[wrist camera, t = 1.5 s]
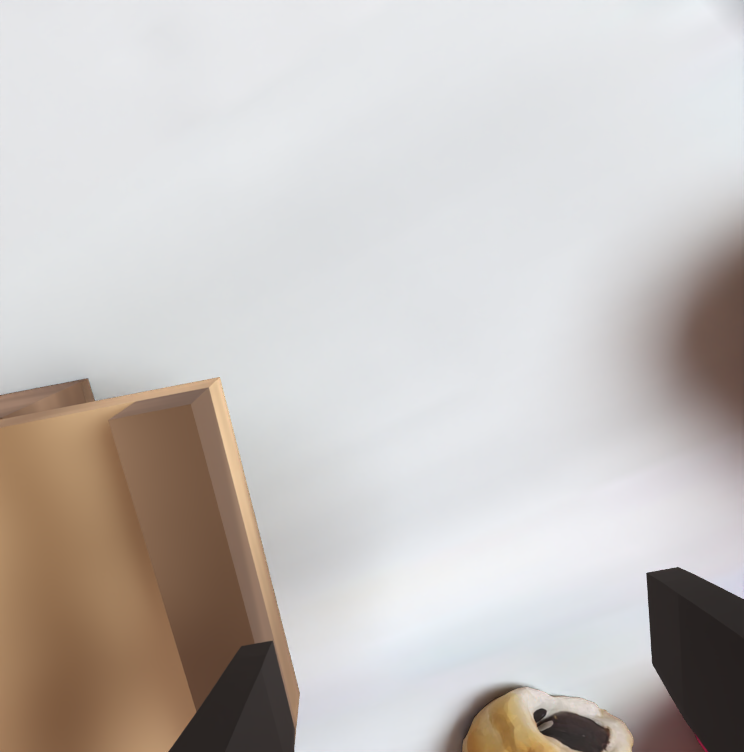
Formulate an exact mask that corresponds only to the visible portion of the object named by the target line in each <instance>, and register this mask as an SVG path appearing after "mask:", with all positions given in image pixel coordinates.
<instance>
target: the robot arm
mask: <svg viewBox="0 0 744 752" xmlns="http://www.w3.org/2000/svg"><path fill="white" fill-rule="evenodd" d="M646 574H647V589H648V605H649V621H650V636H651V652H652V664H653V666H654V668H655V669H656V671H657V673H658V675H659V677H660V678H661V680H662V682H663V684H664V685H665V687H666V689H667V691H668V693H669V694H670V696H671V698H672V699H673V701H674V703H675V704H676V706H677V708H678V709H679V711H680V713H681V714H682V716H683V718H684V719H685V721H686V722H687V723H688V725H689V726H690V728H691V729H692V730H693V732H694V733H695V735H696V736H697V737H698V739H699V740H700V741H701V743H702V744H703V746H704V747H705V748H706V750H707V751H708V752H744V599H742V598H740V597H738V596H736V595H734V594H732V593H730V592H728V591H726V590H724V589H722V588H720V587H718V586H716V585H714V584H712V583H710V582H708V581H706V580H704V579H702V578H700V577H698V576H696V575H694V574H692V573H690V572H688V571H686V570H683V569H681V568H679V567H676V568H671V569H665V570H660V571H654V572H649V573H646ZM294 741H295V727H294V723H293V719H292V715H291V711H290V707H289V703H288V699H287V695H286V691H285V687H284V683H283V679H282V675H281V671H280V667H279V663H278V659H277V655H276V651H275V647H274V643H273V641H267V642H262V643H256V644H250V645H245V646H241V647H240V649H239V650H238V651H237V653H236V654H235V656H234V657H233V659H232V660H231V661H230V663H229V664H228V666H227V667H226V669H225V670H224V672H223V673H222V675H221V676H220V678H219V679H218V681H217V682H216V684H215V685H214V687H213V688H212V690H211V691H210V693H209V694H208V696H207V697H206V699H205V700H204V702H203V703H202V705H201V706H200V708H199V709H198V711H197V712H196V713H195V715H194V716H193V718H192V719H191V720H190V722H189V723H188V725H187V726H186V728H185V729H184V730H183V732H182V733H181V735H180V736H179V738H178V739H177V740H176V742H175V743H174V745H173V746H172V747H171V749H170V750H169V751H168V752H294Z"/></svg>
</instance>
